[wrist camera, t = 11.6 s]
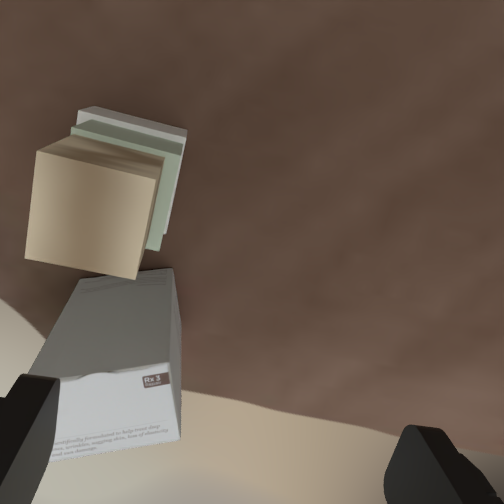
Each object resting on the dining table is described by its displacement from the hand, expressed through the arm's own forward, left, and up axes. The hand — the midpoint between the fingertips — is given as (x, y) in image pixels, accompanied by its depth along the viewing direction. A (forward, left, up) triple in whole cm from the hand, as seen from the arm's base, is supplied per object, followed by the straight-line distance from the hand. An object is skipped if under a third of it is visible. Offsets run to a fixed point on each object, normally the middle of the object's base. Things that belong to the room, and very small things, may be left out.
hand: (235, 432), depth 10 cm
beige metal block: (+6, 0, -18) cm, 19 cm away
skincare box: (+4, +12, -28) cm, 31 cm away
